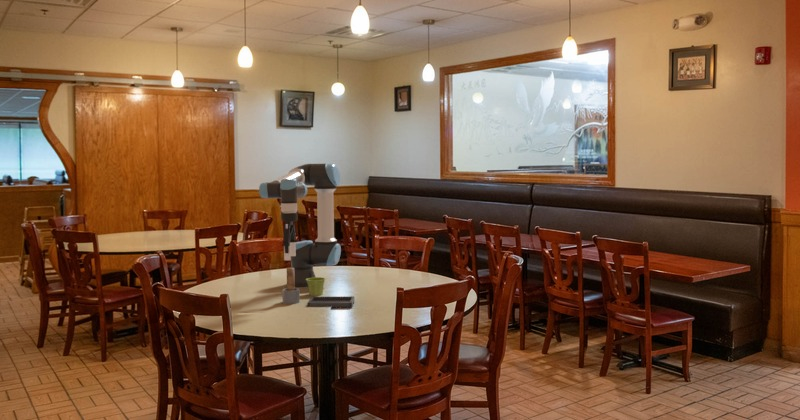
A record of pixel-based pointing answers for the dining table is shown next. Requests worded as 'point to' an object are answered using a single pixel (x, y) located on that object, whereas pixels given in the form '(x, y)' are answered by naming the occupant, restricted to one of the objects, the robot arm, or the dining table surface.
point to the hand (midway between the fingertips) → (290, 258)
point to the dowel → (290, 279)
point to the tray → (332, 302)
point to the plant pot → (315, 285)
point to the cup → (291, 296)
